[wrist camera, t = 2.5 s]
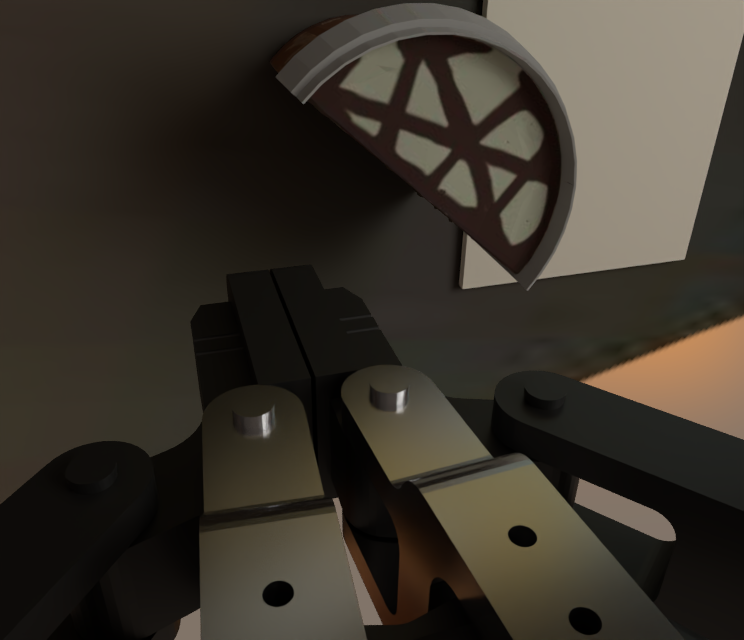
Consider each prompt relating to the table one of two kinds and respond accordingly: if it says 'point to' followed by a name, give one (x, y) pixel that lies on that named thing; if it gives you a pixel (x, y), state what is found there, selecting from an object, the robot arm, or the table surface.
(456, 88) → the food container
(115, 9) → the table surface
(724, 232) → the table surface
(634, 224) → the mat
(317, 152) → the table surface
